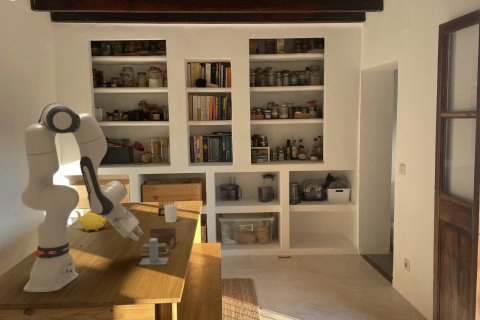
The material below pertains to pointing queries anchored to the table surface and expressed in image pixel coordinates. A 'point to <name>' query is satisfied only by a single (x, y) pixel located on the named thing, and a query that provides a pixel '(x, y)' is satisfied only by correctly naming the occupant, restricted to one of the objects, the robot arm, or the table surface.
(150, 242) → the batten
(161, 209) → the ammunition clip
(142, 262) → the felt mat
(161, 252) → the offcut stack
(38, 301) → the table surface
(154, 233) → the walnut rack
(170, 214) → the white cup
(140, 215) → the table surface
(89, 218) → the teapot
